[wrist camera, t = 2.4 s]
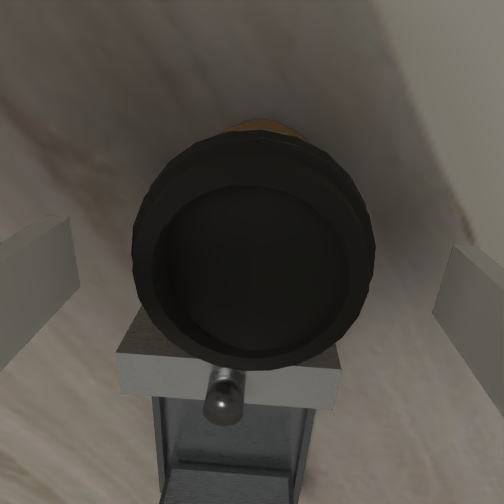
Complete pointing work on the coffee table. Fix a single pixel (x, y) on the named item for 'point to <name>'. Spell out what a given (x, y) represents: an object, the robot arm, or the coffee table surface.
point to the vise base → (230, 453)
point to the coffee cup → (253, 249)
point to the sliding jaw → (219, 377)
